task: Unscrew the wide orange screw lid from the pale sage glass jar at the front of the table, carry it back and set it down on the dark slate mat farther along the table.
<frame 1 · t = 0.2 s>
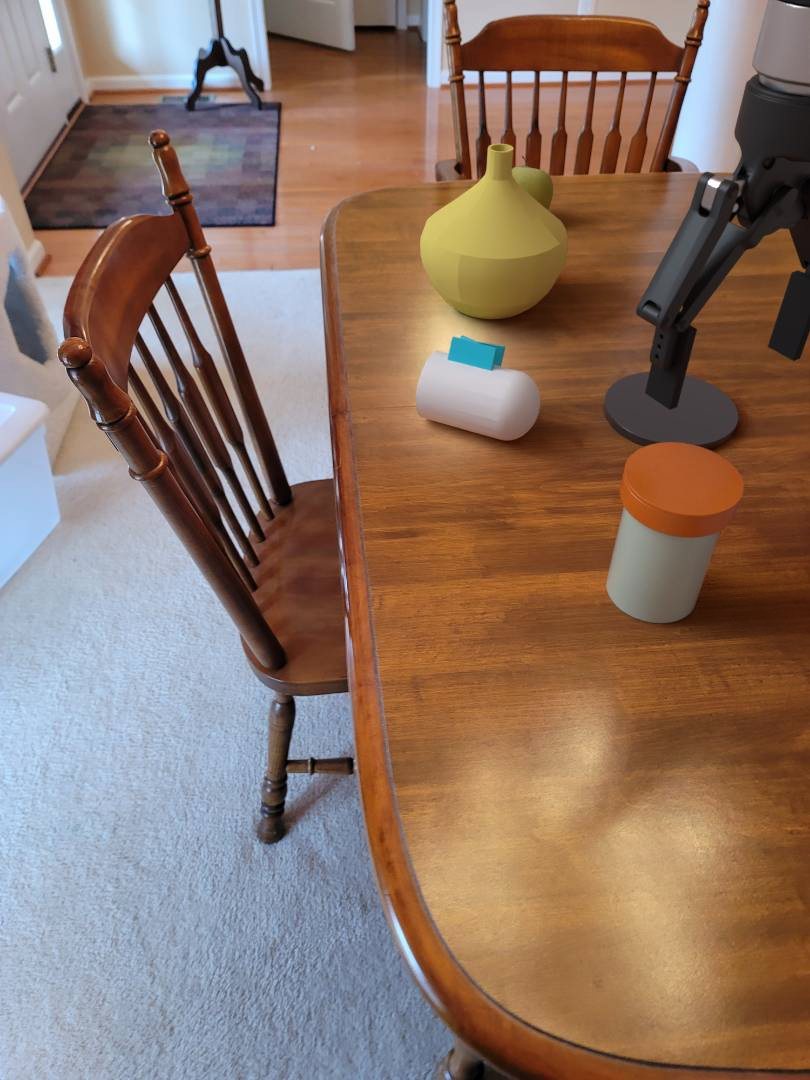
hand: (724, 376, 66), 16 cm above the table, tool pointing down, fingers open, 13 cm apart
lid: (682, 480, 63), point 12 cm above the table, screwed on, not yet turned
mat: (668, 413, 90), on the table
vase: (489, 302, 109), on the table
jar: (650, 589, 71), on the table
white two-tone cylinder: (487, 418, 90), on the table
apple: (524, 223, 127), on the table
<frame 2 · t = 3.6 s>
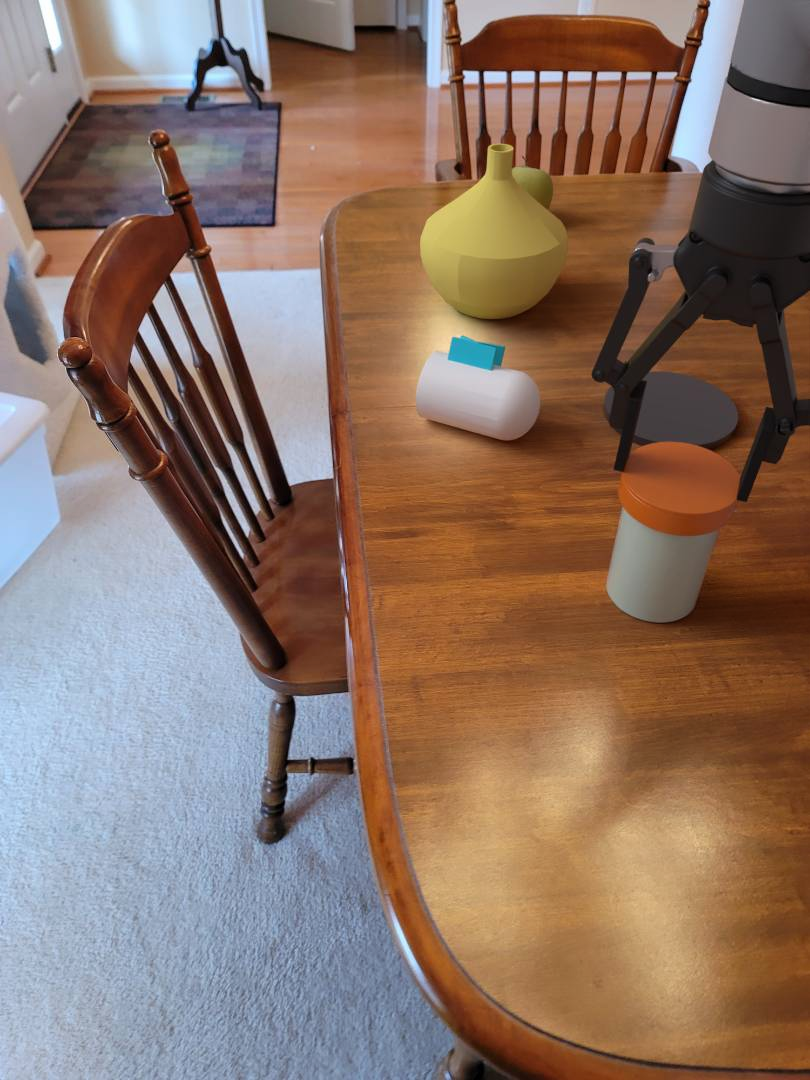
hand: (681, 474, 63), 12 cm above the table, tool pointing down, fingers closed on lid, 8 cm apart
lid: (680, 479, 63), point 12 cm above the table, screwed on, not yet turned, touching gripper
everything else where it was.
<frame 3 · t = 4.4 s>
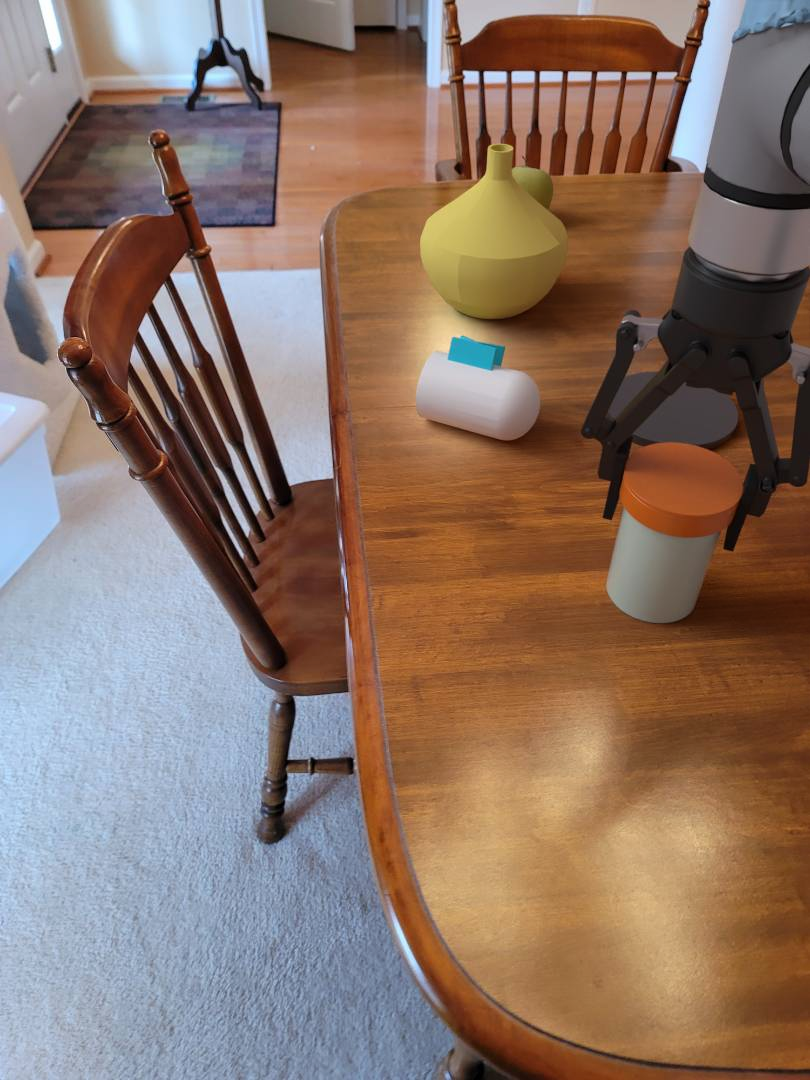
hand: (669, 523, 67), 7 cm above the table, tool pointing down, fingers closed on lid, 9 cm apart
lid: (682, 480, 63), point 12 cm above the table, screwed on, not yet turned, touching gripper
everything else where it was.
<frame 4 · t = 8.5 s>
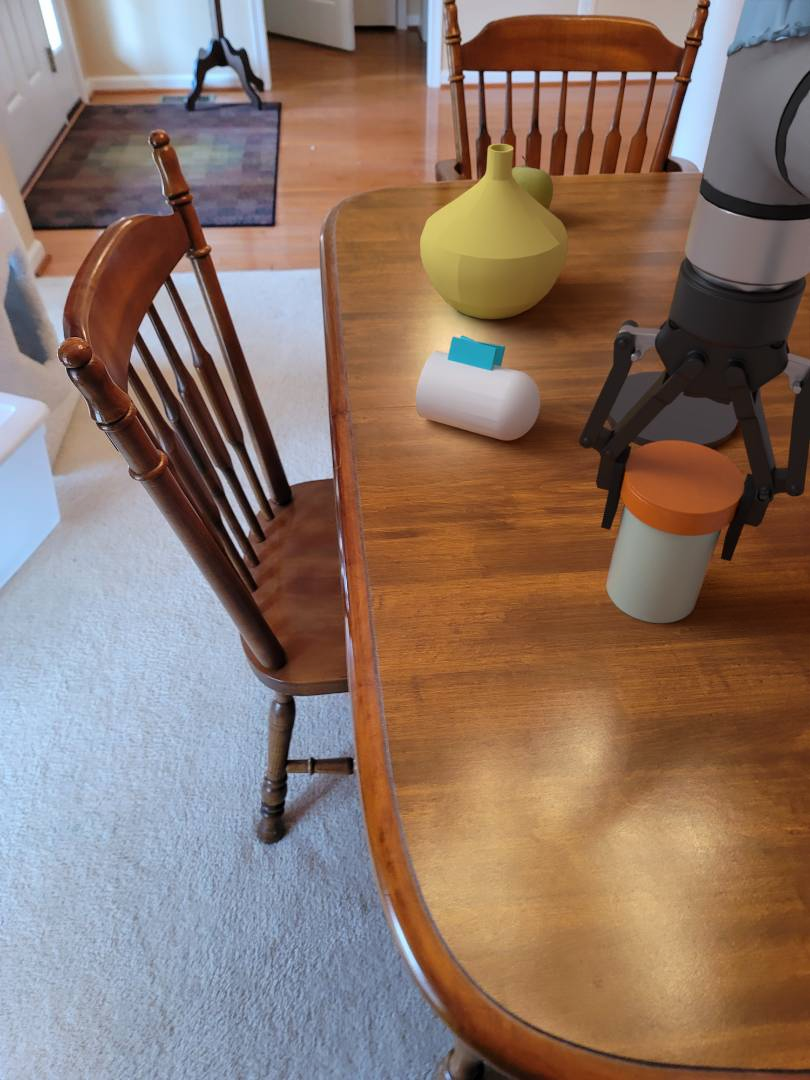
hand: (667, 533, 67), 7 cm above the table, tool pointing down, fingers closed on lid, 9 cm apart
lid: (683, 478, 63), point 12 cm above the table, turned 134° so far, risen 0.2 cm, still on its thread, touching gripper
everything else where it was.
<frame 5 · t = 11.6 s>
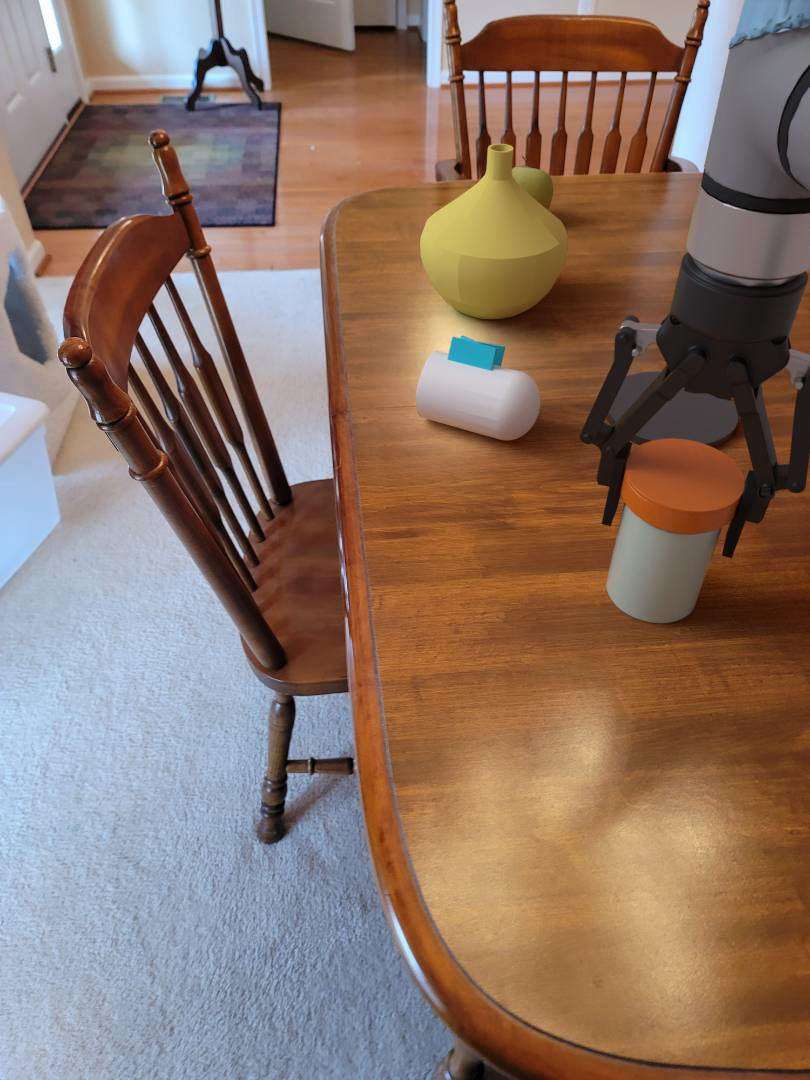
hand: (668, 530, 67), 7 cm above the table, tool pointing down, fingers closed on lid, 9 cm apart
lid: (683, 476, 63), point 12 cm above the table, turned 266° so far, risen 0.4 cm, still on its thread, touching gripper
everything else where it was.
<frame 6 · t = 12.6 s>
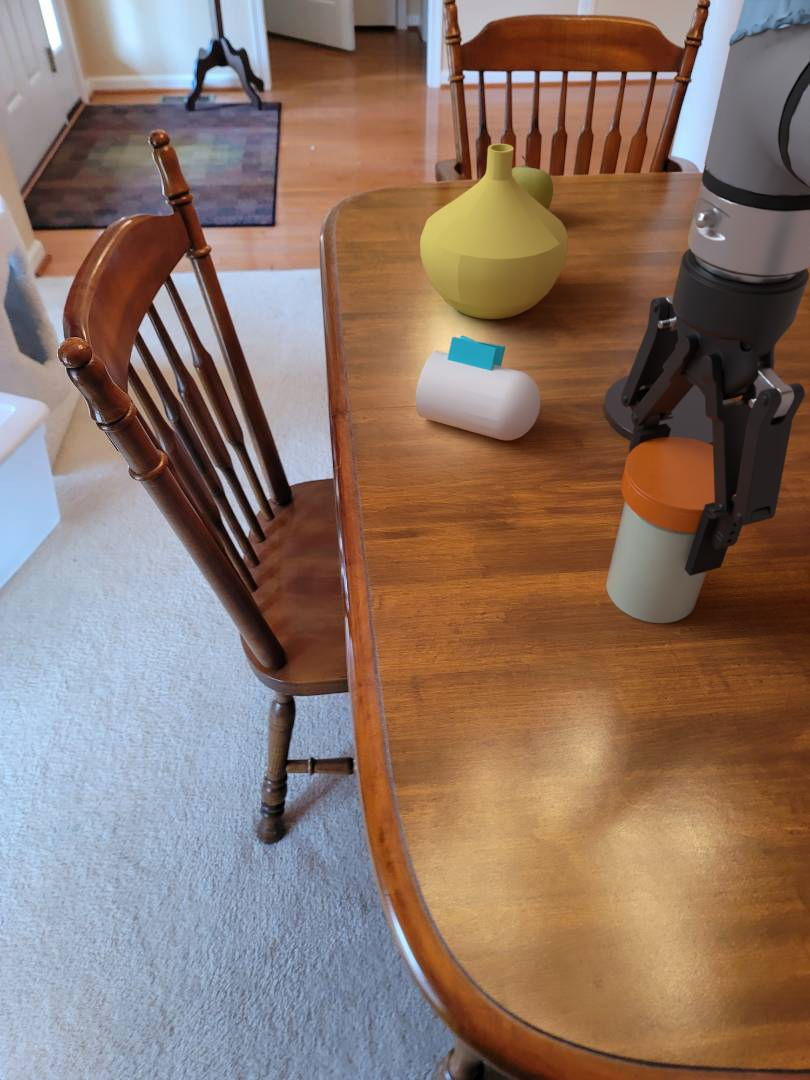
hand: (668, 528, 67), 7 cm above the table, tool pointing down, fingers closed on lid, 9 cm apart
lid: (684, 475, 63), point 13 cm above the table, off its thread, touching gripper
everything else where it was.
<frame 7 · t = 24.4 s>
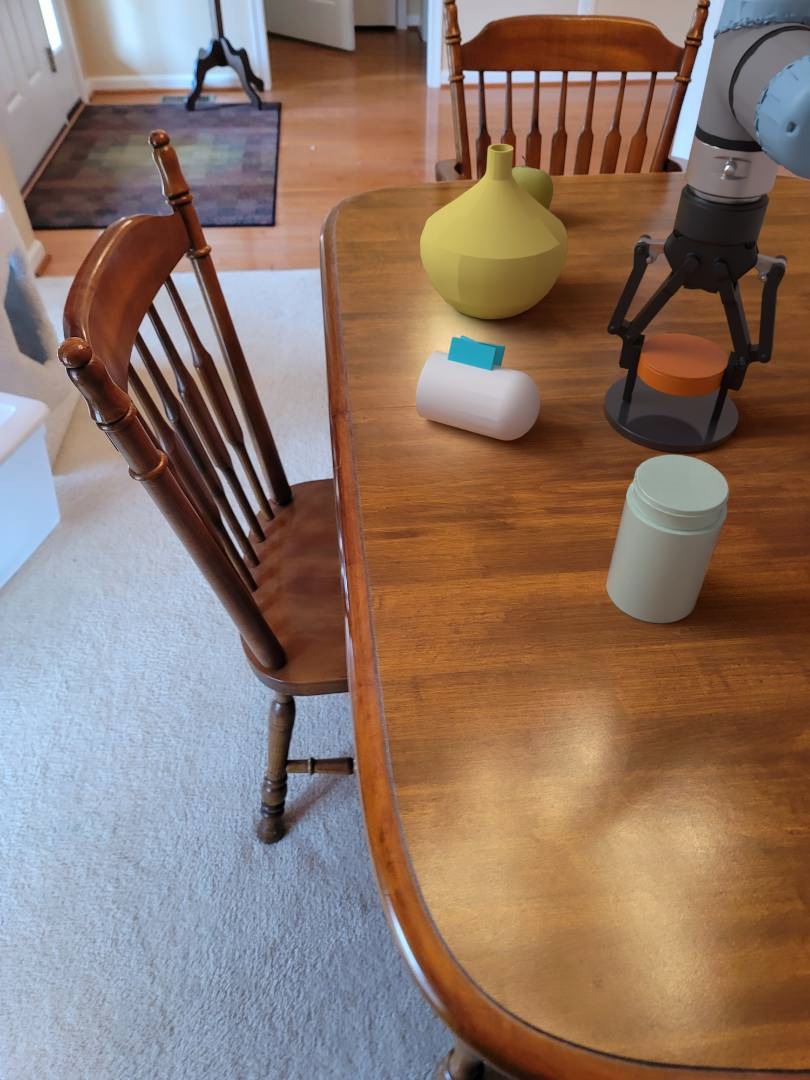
hand: (671, 402, 89), 1 cm above the table, tool pointing down, fingers closed on lid, 9 cm apart
lid: (683, 357, 86), point 7 cm above the table, off its thread, touching gripper
everything else where it was.
when the fingers open (4 cm above the table, at t = 39.5 s): lid drops 7 cm, resting on mat.
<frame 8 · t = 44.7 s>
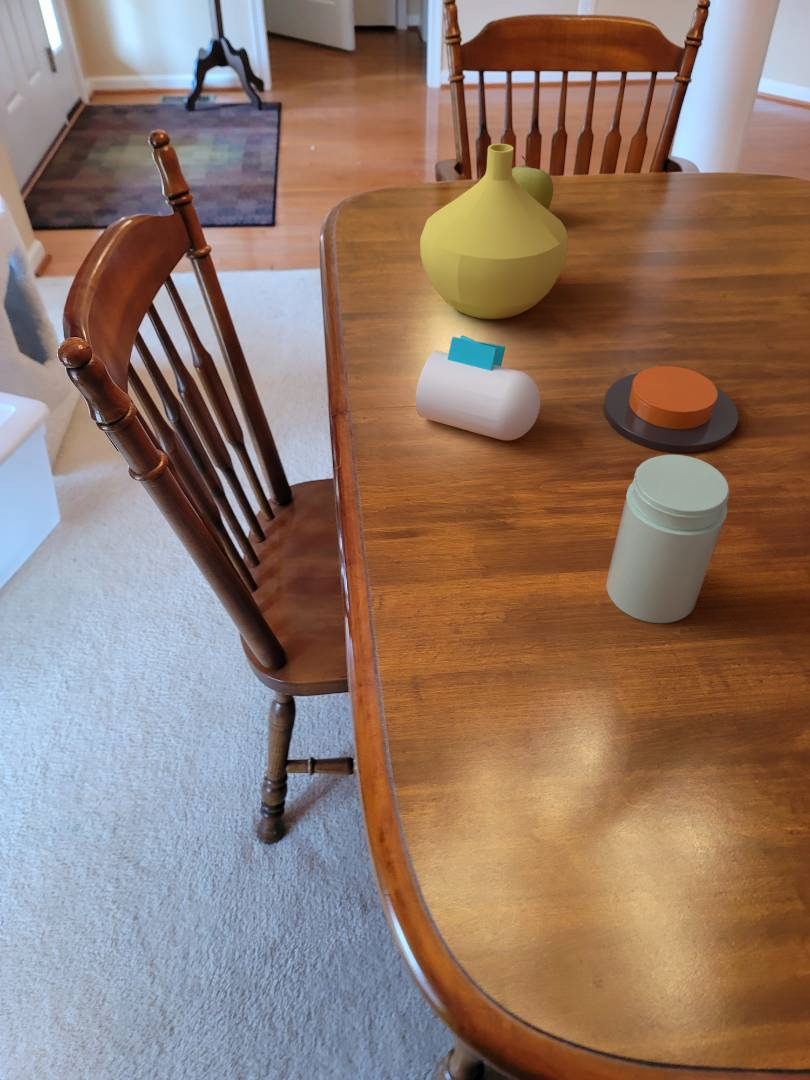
lid: (674, 390, 88), point 3 cm above the table, off its thread, touching mat
everything else where it was.
at the end: lid inside the target area on the mat (0.1 cm from its centre), point 2.9 cm above the mat's base; the gripper is holding nothing; jar tilted 0° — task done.
